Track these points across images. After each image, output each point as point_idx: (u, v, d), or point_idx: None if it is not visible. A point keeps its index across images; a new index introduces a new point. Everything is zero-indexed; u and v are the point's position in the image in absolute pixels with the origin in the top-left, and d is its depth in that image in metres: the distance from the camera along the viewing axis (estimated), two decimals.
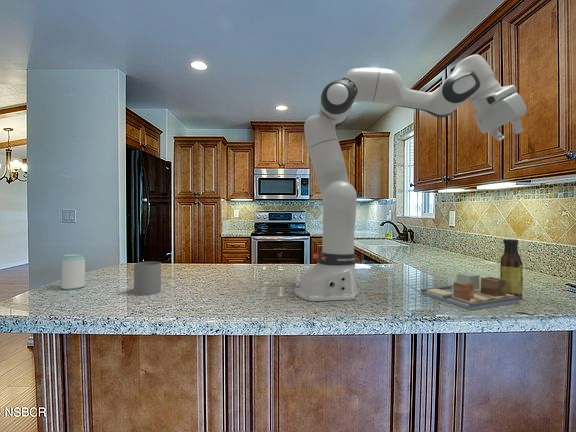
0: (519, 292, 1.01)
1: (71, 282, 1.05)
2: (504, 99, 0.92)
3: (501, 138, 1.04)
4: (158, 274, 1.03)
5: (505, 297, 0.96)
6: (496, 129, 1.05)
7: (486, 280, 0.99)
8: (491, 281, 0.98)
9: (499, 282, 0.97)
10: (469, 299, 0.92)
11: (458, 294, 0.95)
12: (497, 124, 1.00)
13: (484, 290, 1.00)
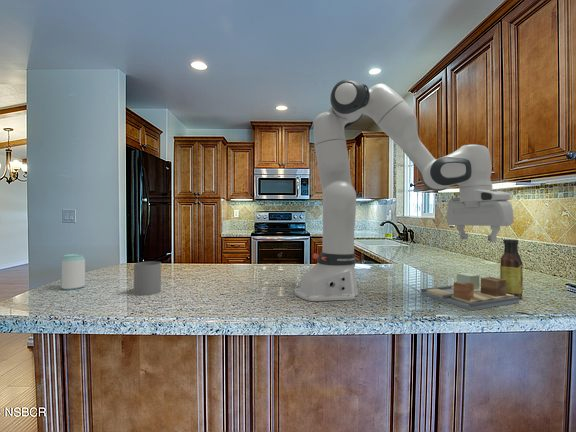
0: (519, 292, 1.01)
1: (71, 282, 1.05)
2: (500, 202, 0.86)
3: (465, 238, 0.99)
4: (158, 274, 1.03)
5: (505, 297, 0.96)
6: (463, 226, 1.00)
7: (486, 280, 0.99)
8: (491, 281, 0.98)
9: (499, 282, 0.97)
10: (469, 299, 0.92)
11: (458, 294, 0.95)
12: (473, 222, 0.94)
13: (484, 290, 1.00)
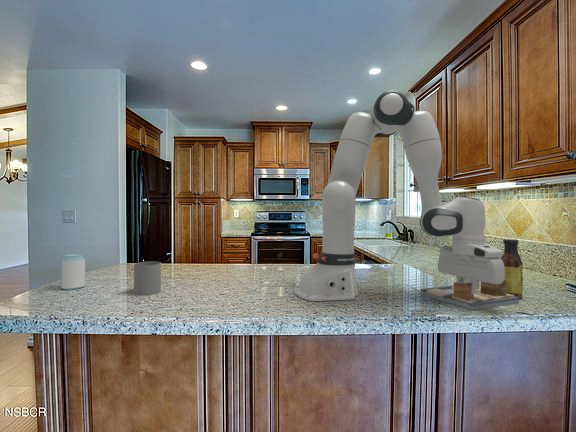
0: (519, 292, 1.01)
1: (71, 282, 1.05)
2: (492, 260, 0.86)
3: None
4: (158, 274, 1.03)
5: (505, 297, 0.96)
6: (463, 277, 0.97)
7: None
8: None
9: None
10: (469, 299, 0.92)
11: (458, 294, 0.95)
12: (464, 275, 0.94)
13: (484, 290, 1.00)
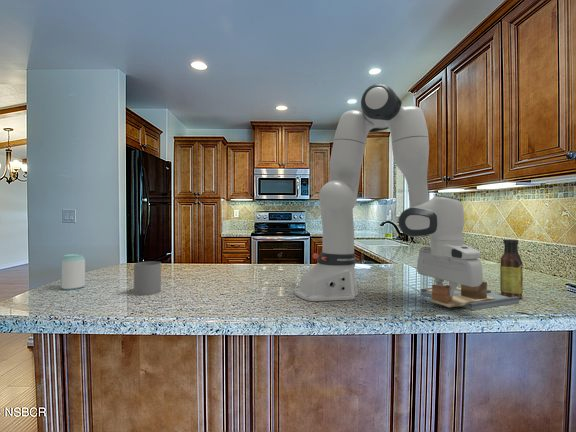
0: (519, 292, 1.01)
1: (71, 282, 1.05)
2: (470, 262, 0.82)
3: None
4: (158, 274, 1.03)
5: (485, 300, 0.93)
6: (442, 280, 0.93)
7: None
8: None
9: None
10: (447, 302, 0.88)
11: (436, 297, 0.91)
12: (443, 277, 0.90)
13: (464, 292, 0.96)
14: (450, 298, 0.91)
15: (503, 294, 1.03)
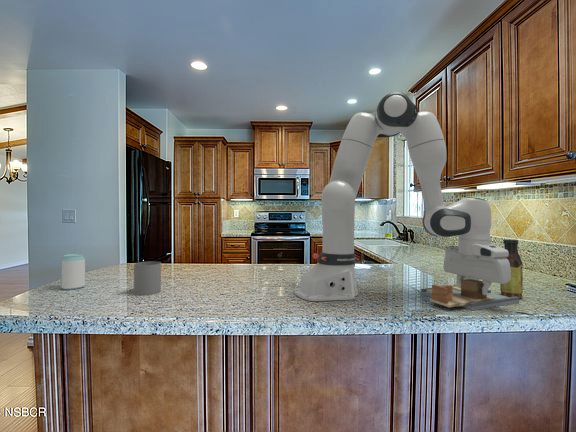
0: (519, 292, 1.01)
1: (71, 282, 1.05)
2: (499, 260, 0.87)
3: None
4: (158, 274, 1.03)
5: (485, 300, 0.93)
6: (464, 276, 0.99)
7: (466, 282, 0.96)
8: (471, 283, 0.94)
9: (479, 284, 0.93)
10: (447, 302, 0.88)
11: (436, 297, 0.91)
12: (471, 274, 0.95)
13: (464, 292, 0.96)
14: (450, 298, 0.91)
15: (503, 294, 1.03)
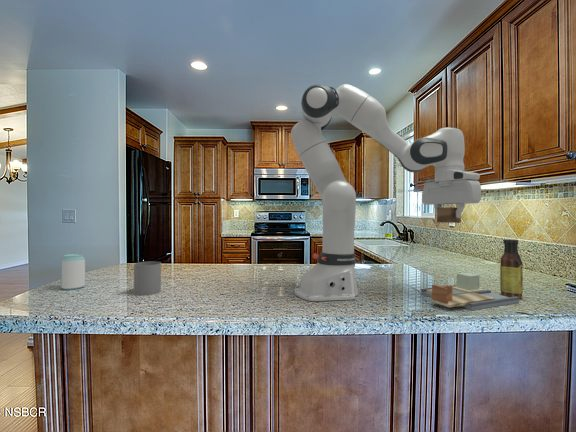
0: (519, 292, 1.01)
1: (71, 282, 1.05)
2: (470, 181, 0.93)
3: None
4: (158, 274, 1.03)
5: (485, 300, 0.93)
6: (440, 205, 1.05)
7: (442, 208, 1.01)
8: (446, 208, 1.00)
9: (453, 209, 0.99)
10: (447, 302, 0.88)
11: (436, 297, 0.91)
12: (445, 201, 1.01)
13: (440, 219, 1.02)
14: (450, 298, 0.91)
15: (503, 294, 1.03)
